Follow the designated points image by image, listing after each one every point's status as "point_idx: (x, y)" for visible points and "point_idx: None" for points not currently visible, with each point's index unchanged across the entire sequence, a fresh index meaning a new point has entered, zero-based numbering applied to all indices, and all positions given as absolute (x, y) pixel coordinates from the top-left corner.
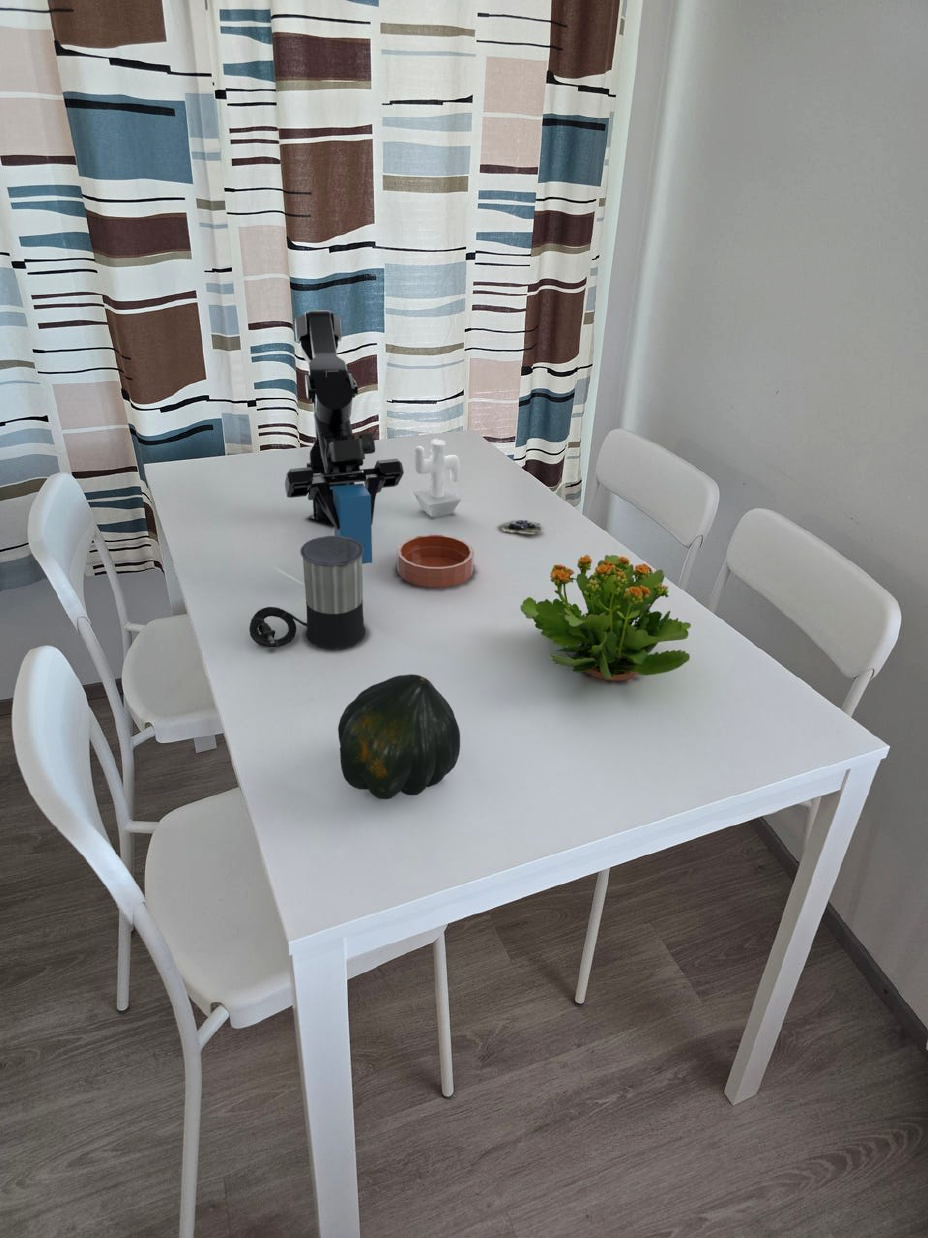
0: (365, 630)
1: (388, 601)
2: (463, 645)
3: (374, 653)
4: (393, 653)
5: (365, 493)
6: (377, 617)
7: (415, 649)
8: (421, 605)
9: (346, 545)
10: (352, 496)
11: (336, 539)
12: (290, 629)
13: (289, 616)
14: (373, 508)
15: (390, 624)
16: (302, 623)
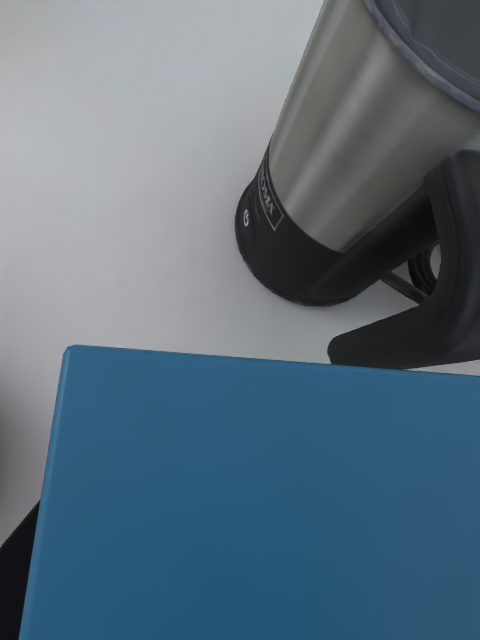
0: (238, 204)
1: (109, 344)
2: (14, 54)
3: (243, 125)
4: (200, 105)
5: (138, 447)
6: (178, 269)
7: (143, 95)
8: (17, 281)
9: (424, 6)
10: (397, 385)
11: (473, 81)
12: (426, 254)
13: (432, 291)
14: (19, 531)
15: (157, 221)
16: (393, 274)
